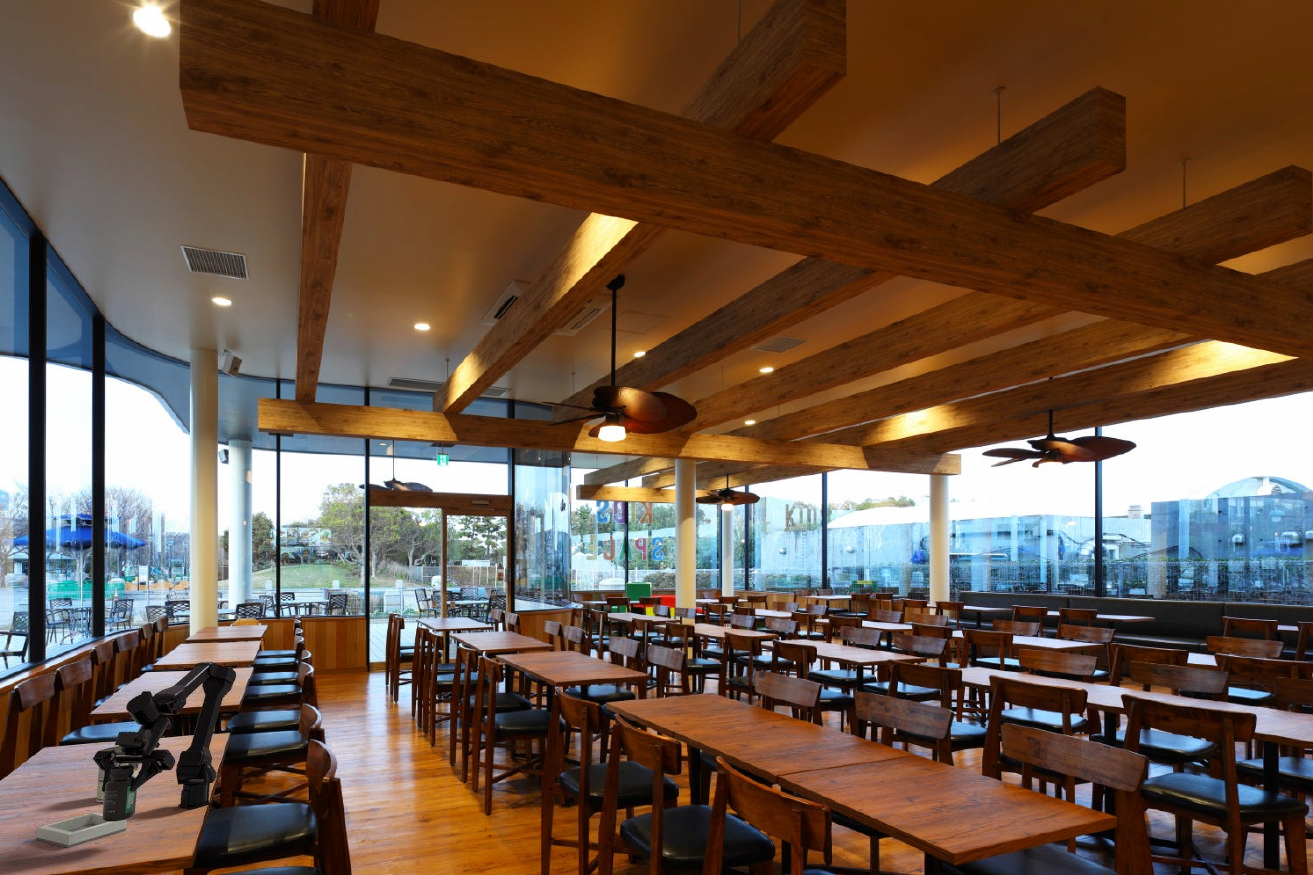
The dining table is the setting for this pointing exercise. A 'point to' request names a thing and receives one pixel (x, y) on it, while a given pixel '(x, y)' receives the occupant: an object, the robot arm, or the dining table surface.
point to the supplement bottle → (119, 795)
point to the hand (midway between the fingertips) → (117, 791)
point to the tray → (79, 830)
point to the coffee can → (101, 773)
